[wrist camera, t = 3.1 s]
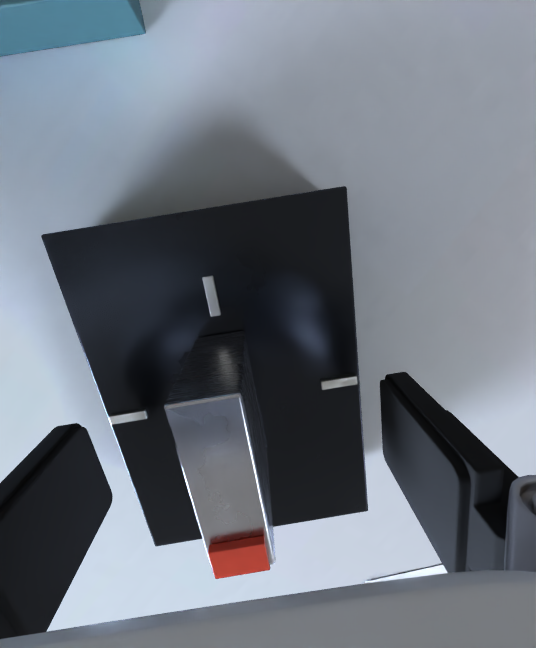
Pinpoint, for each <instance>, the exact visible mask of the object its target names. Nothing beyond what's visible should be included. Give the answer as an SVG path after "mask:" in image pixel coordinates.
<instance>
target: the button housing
mask: <svg viewBox="0 0 536 648" xmlns="http://www.w3.org/2000/svg"><path fill="white" fill-rule="evenodd" d="M145 33H146V30H145V25H144V21H143V16H142V12H141V7H140V3H139V0H0V56H5V55H11V54H18V53H24V52H31V51H37V50H44V49H50V48H56V47H63V46H69V45H76V44H82V43H89V42H95V41H101V40H108V39H114V38H121V37H127V36H134V35H140V34H145Z"/></svg>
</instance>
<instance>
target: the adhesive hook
mask: <svg viewBox="0 0 536 648" xmlns="http://www.w3.org/2000/svg"><path fill="white" fill-rule="evenodd" d="M444 573H448V572H447V571H446V569H445V567H444V565H439V566H434V567H430V568H425V569H421V570H416V571H412V572H407V573H403V574H398V575H393V576H389V577H384V578H380V579H375V580H371V581H366V582H364V584H365V583H372V582H380V581H388V580H396V579H404V578H412V577H420V576H428V575H436V574H444Z"/></svg>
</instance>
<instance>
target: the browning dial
mask: <svg viewBox="0 0 536 648" xmlns="http://www.w3.org/2000/svg"><path fill="white" fill-rule="evenodd" d="M164 410H165V414H166V417H167V421H168V424H169V427H170V431H171V434H172V437H173V441H174V444H175V447H176V451H177V454H178V457H179V461H180V464H181V467H182V471H183V474H184V477H185V481H186V484H187V488H188V491H189V494H190V498H191V501H192V504H193V508H194V511H195V514H196V518H197V521H198V524H199V528H200V531H201V534H202V538H203V541H204V544H205V548H206V551H207V555H208V558H209V561H210V565H211V568H212V571H213V573H214V575H215V579H219V578H225V577H231V576H237V575H243V574H249V573H255V572H261V571H266V570H270V564H274V563H275V547H274V534H273V521H272V508H271V495H270V482H269V469H268V456H267V448H266V443H265V438H264V432H263V427H262V422H261V416H260V411H259V406H258V400H257V395H256V389H255V384H254V379H253V373H252V368H251V363H250V357H249V352H248V347H247V341H246V336H245V332H244V331H238V332H232V333H226V334H219V335H213V336H207V337H201V338H197V339H196V340H195V342H194V344H193V346H192V348H191V351H190V353H189V355H188V357H187V359H186V361H185V363H184V365H183V367H182V370H181V372H180V374H179V376H178V378H177V380H176V382H175V384H174V386H173V388H172V391H171V393H170V395H169V397H168V399H167V401H166V403H165V405H164Z"/></svg>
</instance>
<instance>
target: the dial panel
mask: <svg viewBox="0 0 536 648" xmlns="http://www.w3.org/2000/svg"><path fill="white" fill-rule="evenodd" d="M41 237H42V240H43V242H44V245H45V248H46V251H47V253H48V256H49V259H50V261H51V264H52V267H53V270H54V272H55V275H56V278H57V280H58V283H59V286H60V289H61V291H62V294H63V297H64V299H65V302H66V305H67V308H68V310H69V313H70V316H71V318H72V321H73V324H74V327H75V329H76V332H77V335H78V337H79V340H80V343H81V346H82V348H83V351H84V354H85V356H86V359H87V362H88V365H89V367H90V370H91V373H92V375H93V378H94V381H95V384H96V386H97V389H98V392H99V395H100V397H101V400H102V403H103V405H104V408H105V411H106V414H107V416H108V419H109V422H110V424H111V427H112V430H113V433H114V435H115V438H116V441H117V443H118V446H119V449H120V452H121V454H122V457H123V460H124V462H125V465H126V468H127V471H128V473H129V476H130V479H131V481H132V484H133V487H134V490H135V492H136V495H137V498H138V500H139V503H140V506H141V509H142V511H143V514H144V517H145V519H146V522H147V525H148V528H149V530H150V533H151V536H152V538H153V541H154V544H155V546H161V545H167V544H173V543H179V542H185V541H191V540H197V539H203V538H202V534H201V531H200V528H199V524H198V521H197V518H196V514H195V511H194V508H193V504H192V501H191V498H190V494H189V491H188V488H187V484H186V481H185V477H184V474H183V471H182V467H181V464H180V461H179V457H178V454H177V451H176V447H175V444H174V441H173V437H172V434H171V431H170V427H169V424H168V421H167V417H166V414H165V410H164V405H165V403H166V401H167V399H168V397H169V395H170V393H171V391H172V388H173V386H174V384H175V382H176V380H177V378H178V376H179V374H180V372H181V370H182V367H183V365H184V363H185V361H186V359H187V357H188V355H189V353H190V351H191V348H192V346H193V344H194V342H195V340H196V339H197V338H201V337H207V336H213V335H219V334H226V333H232V332H238V331H244V332H245V336H246V341H247V347H248V352H249V357H250V363H251V368H252V373H253V379H254V384H255V389H256V395H257V400H258V406H259V411H260V416H261V422H262V427H263V432H264V438H265V443H266V448H267V456H268V469H269V482H270V495H271V508H272V521H273V527H274V526H280V525H286V524H292V523H298V522H304V521H310V520H316V519H322V518H328V517H334V516H340V515H346V514H352V513H358V512H364V511H368V502H367V487H366V472H365V457H364V442H363V427H362V412H361V397H360V382H359V367H358V352H357V337H356V322H355V307H354V292H353V277H352V262H351V247H350V232H349V217H348V202H347V188H346V187H345V186H343V187H337V188H331V189H324V190H318V191H312V192H306V193H299V194H293V195H287V196H281V197H274V198H268V199H262V200H256V201H249V202H243V203H237V204H231V205H224V206H218V207H212V208H206V209H199V210H193V211H187V212H180V213H174V214H168V215H162V216H155V217H149V218H143V219H137V220H130V221H124V222H118V223H112V224H105V225H99V226H93V227H87V228H80V229H74V230H68V231H62V232H55V233H49V234H43V235H42V236H41Z"/></svg>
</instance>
